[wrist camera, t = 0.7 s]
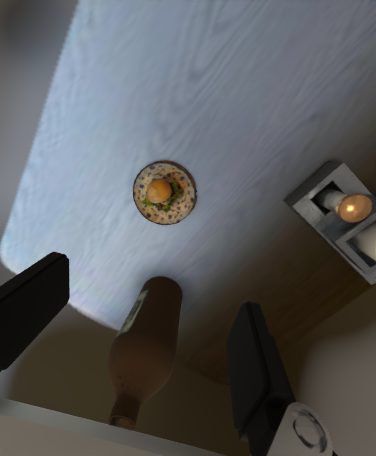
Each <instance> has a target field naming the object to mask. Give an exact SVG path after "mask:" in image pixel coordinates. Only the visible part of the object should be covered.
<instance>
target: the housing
mask: <svg viewBox="0 0 376 456" xmlns="http://www.w3.org/2000/svg"><path fill="white" fill-rule="evenodd" d="M325 186H327V187H328V188H329V189H332V190H336V191H339V192H342V193H345V194H348V195H350V194H360V195H363V196H366V197H368V198H369V199H370V200H371V202H372V208H371V211H370V213H369V214H368V215H367V216H366V217H365V218H364V219H362V220H360V221H358V222H347V221H345V220H343V219H341V218H339V217H338V215H337V214H336V212H334V211H332V210H330V209H328V208H325V207H323V206H321V205H319V204H318V205H317V206H316V205H315V204H314V203H313V202H312V201H311V200H310V199H311V198H312V197H313V196H314V195H316V194H317V193H318V192H319V191H320V190H321V189H323V188H324V187H325ZM284 202H285V203H286V204H287V205H288V206H289V207H290V208H291V209H292V210H293V211H294V212H295V213H296V214H297V215H299V216H300V217H301V218H302V219H303V220H304V221H305V222H306V223H307V224H308V225H309V226H310V227H311V228H312V229H313V230H314V231H315V232H316V233H317V234H318V235H319V236H320V237H321V238H322V239H323V240H324V241H325V242H326V243H327V244H328V245H329V246H330V247H331V248H332V249H333V250H334V251H335V252H336V253H337V254H338V255H339V256H340V257H341V258H342V259H343V260H344V261H345V262H346V263H347V264H348V265H349V266H350V267H351V268H352V269H353V270H354V271H355V272H356V273H358V274H359V275H360V276H361V277H362V278H364V279H365V280H366V281H367V282H369V283H370V284H371V285H372V284H374V283H376V261H375V260H374V259H372V258H371V257H369V256H368V255H366V254H365V253H363V252H362V251H360V250H358V249H357V248H355V247H354V246H352V245H351V244H349V243H348V242H346V241H347V240H348V239H350V238H351V237H352V236H354V235H355V234H357V233H358V232H359V231H361V230H362V229H364V228H365V227H367V226H368V225H369V224H371V223H372V222H374V221H375V220H376V196H373V195H372V194H371V193H370V192H369V191H368V190H367V189H366V187H365V186H364V185H363V184H362V183H361V182H360V181H359V179H358V178H357V177H356V176H355V175H354V174H353V173H352V171H351V170H350V169H349V168H348V167H347V166H346V165H345V164H344V163H343V162H332V161H327V162H326V163H325V164H324V165H323V166H322V167H321V168H320V169H318V170H317V171H316V172H315V173H314V174H313V175H312V176H311V177H310V178H308V179H307V180H306V181H305V182H304V183H303V184H302V185H301V186H299V187H298V188H297V189H296V190H295V191H294V192H293V193H292V194H290V195H289V196H288V197H287V198H286V199H285V200H284Z"/></svg>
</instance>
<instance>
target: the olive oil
mask: <svg viewBox="0 0 376 456" xmlns="http://www.w3.org/2000/svg"><path fill="white" fill-rule="evenodd" d="M181 301H182V291H181V289H180V287H179V285H178V284H177V283H176V282H174V281H173V280H171V279H169V278H165V277H155V278H152V279H150V280H148V281H147V282H146V283H145V285H144V287H143V289H142V291H141V292H140V294H139V296H138V298H137V300H136V302H135V304H134V306H133V307H132V309H131V311H130V313H129V315H128V317H127V318H126V320H125V322H124V324H123V326H122V327H121V329H120V331H119V333H118V334H117V336H116V338H115V340H114V342H113V344H112V347H111V350H110V354H109V358H108V372H109V376H110V379H111V382H112V385H113V388H114V391H115V394H116V402H115V404H114V407H113V409H112V412H111V414H110V417H109V420H108V422H109V424H108V425H111V426H115V427H119V428H123V429H127V430H131V431H132V430H133V429H134V428H135V425H136V421H137V417H138V413H139V408H140V406H141V404H142V403H143V402H145V401H146V400H147V399H149V398H150V397H151V396H153V395H154V394H155V393H156V392H158V391H159V390H160V389H161V388H162V387H163V386H164V385H165V384H166V382H167V381H168V379H169V377H170V375H171V373H172V370H173V367H174V363H175V356H176V346H177V335H178V326H179V317H180V309H181Z"/></svg>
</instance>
